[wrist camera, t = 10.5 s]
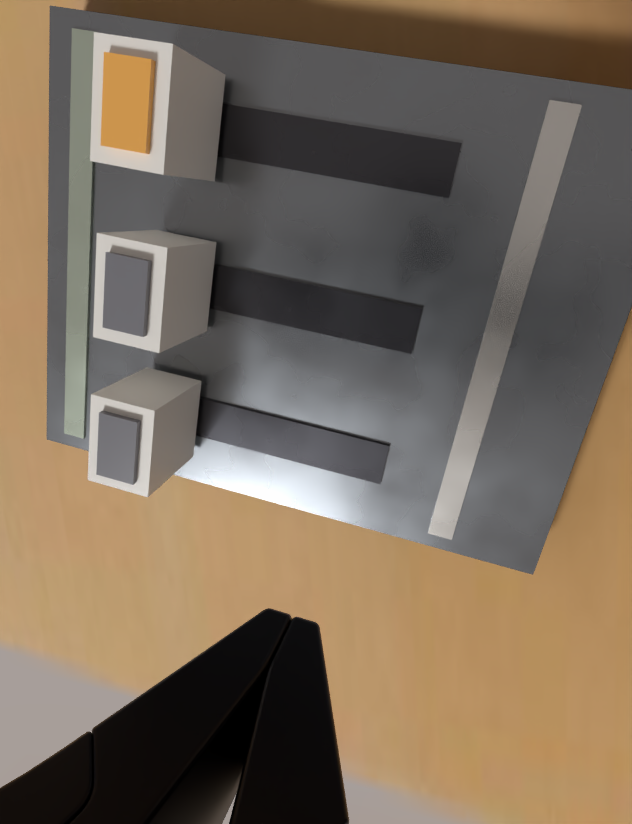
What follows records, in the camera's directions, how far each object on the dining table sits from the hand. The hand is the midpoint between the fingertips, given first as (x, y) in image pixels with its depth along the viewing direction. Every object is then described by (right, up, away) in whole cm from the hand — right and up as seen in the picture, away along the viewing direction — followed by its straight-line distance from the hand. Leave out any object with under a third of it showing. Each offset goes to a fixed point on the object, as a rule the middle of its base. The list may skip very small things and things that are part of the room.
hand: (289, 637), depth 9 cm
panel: (0, +7, +10) cm, 13 cm away
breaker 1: (-3, +12, +8) cm, 15 cm away
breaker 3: (-5, +3, +11) cm, 12 cm away
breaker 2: (-4, +8, +9) cm, 13 cm away
